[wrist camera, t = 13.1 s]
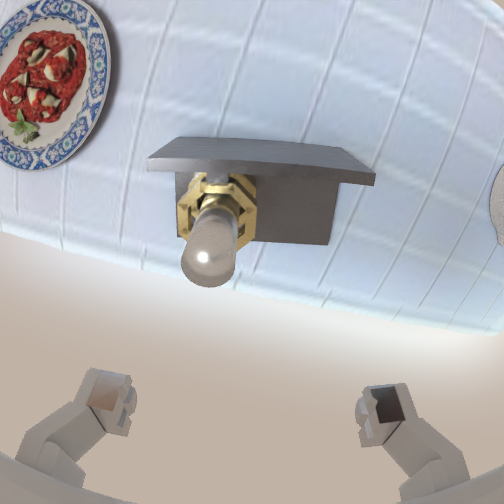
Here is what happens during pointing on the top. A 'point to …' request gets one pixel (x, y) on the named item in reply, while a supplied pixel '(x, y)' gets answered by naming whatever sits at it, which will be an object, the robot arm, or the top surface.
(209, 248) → the grey metal rod
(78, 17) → the ceramic plate
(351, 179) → the collar stand
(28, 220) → the top surface
